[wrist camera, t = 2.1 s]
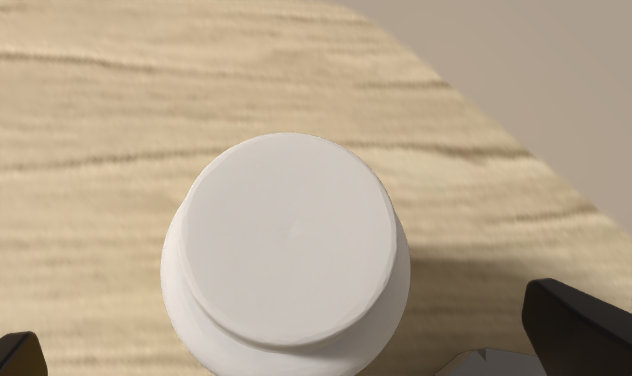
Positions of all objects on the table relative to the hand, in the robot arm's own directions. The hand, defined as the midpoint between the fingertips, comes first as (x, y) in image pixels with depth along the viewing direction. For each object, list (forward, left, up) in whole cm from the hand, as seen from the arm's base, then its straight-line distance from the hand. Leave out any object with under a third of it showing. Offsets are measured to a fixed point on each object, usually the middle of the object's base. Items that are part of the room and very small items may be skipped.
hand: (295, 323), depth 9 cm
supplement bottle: (+1, -1, -9) cm, 10 cm away
